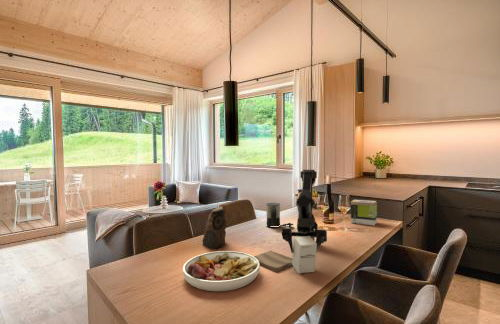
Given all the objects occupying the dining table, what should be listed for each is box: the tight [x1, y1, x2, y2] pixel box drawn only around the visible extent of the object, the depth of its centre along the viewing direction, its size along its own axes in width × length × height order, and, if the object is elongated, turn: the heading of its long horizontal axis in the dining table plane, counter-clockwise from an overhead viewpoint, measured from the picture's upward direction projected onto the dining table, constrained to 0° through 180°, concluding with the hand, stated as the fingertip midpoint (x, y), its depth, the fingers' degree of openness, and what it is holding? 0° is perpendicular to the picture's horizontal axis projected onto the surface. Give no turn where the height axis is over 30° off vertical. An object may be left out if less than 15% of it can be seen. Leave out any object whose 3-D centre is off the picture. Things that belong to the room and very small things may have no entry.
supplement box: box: [291, 236, 317, 275], centre depth 117 cm, size 7×7×13 cm
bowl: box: [182, 250, 261, 292], centre depth 114 cm, size 30×30×8 cm
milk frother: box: [265, 202, 294, 227], centre depth 184 cm, size 14×16×15 cm
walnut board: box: [253, 250, 293, 273], centre depth 127 cm, size 13×16×2 cm
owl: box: [201, 205, 227, 251], centre depth 149 cm, size 13×13×20 cm
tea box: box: [350, 199, 378, 226], centre depth 190 cm, size 15×10×15 cm, turn 58°
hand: (303, 253), depth 117 cm, fingers closed on supplement box, 9 cm apart
